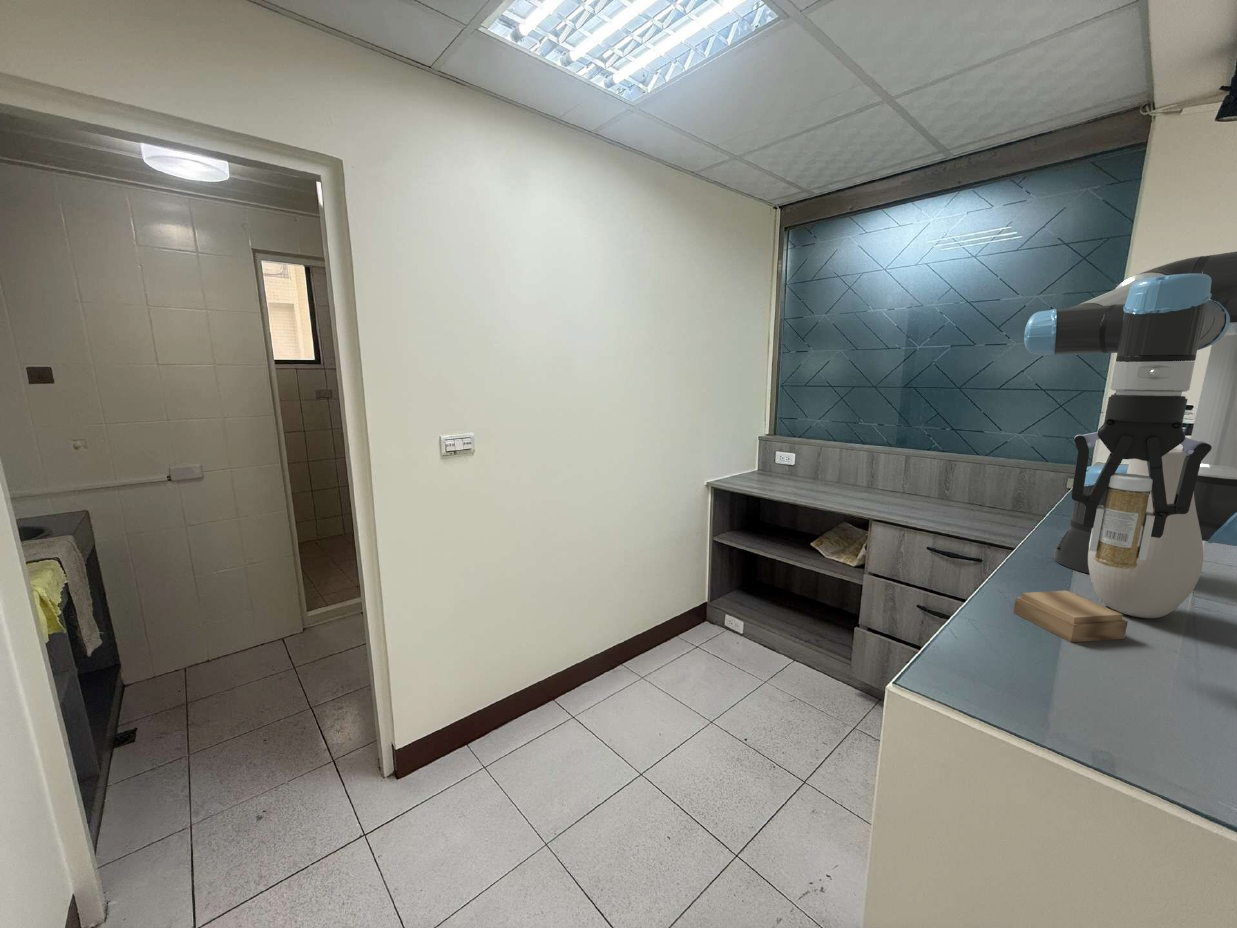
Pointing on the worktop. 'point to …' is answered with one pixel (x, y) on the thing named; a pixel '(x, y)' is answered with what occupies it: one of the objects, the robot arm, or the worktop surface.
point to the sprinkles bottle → (1123, 520)
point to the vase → (1156, 557)
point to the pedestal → (1071, 616)
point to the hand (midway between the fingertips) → (1116, 552)
